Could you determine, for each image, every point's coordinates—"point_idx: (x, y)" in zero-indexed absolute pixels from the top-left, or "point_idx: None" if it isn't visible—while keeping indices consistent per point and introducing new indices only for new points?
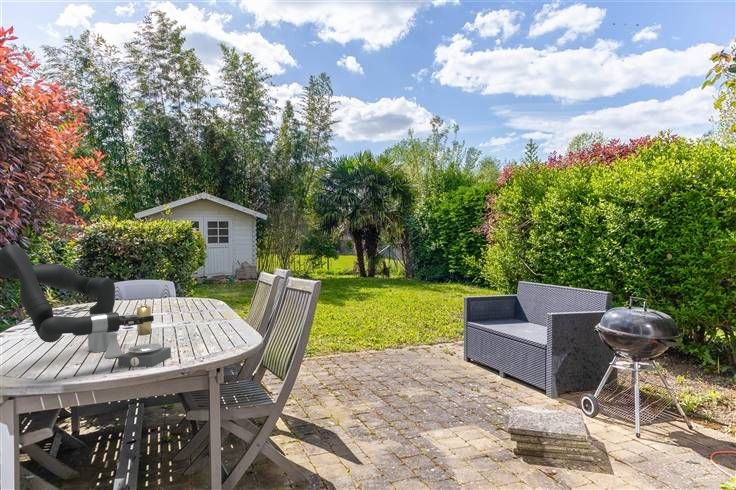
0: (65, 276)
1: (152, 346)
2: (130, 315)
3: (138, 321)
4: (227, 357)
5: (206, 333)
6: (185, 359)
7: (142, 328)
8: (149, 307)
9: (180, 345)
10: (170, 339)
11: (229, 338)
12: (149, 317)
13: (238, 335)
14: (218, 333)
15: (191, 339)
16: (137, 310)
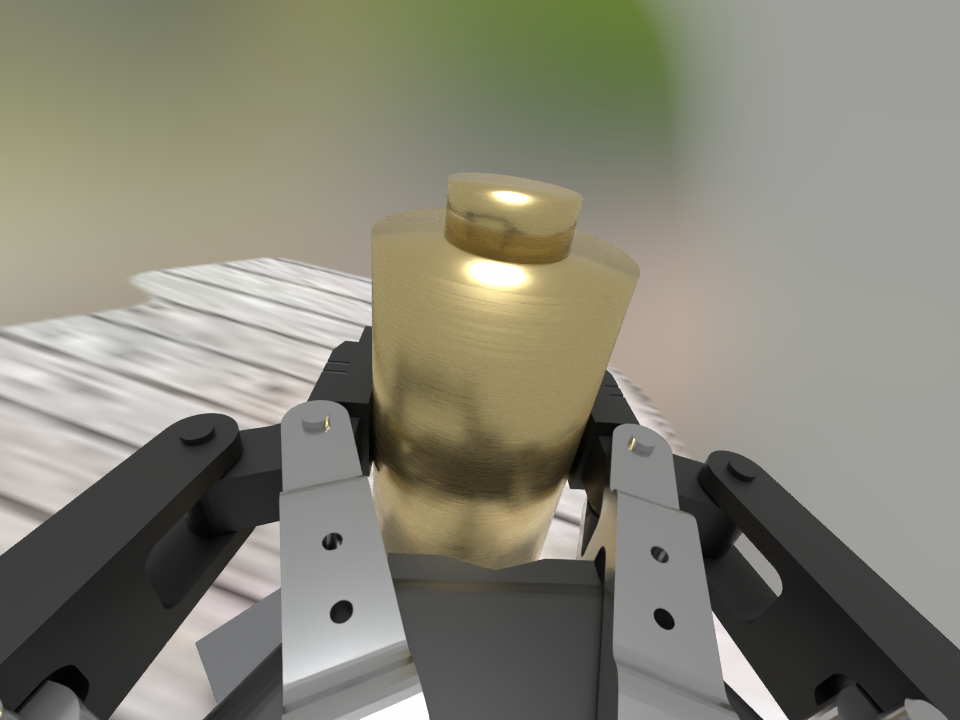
0: None
1: None
2: (383, 553)
3: (511, 526)
4: (630, 397)
5: (173, 289)
6: (561, 494)
7: (536, 558)
8: (581, 232)
9: (243, 401)
10: (40, 375)
11: (352, 298)
12: (618, 389)
13: (342, 277)
14: (234, 280)
15: (193, 341)
16: (525, 351)
